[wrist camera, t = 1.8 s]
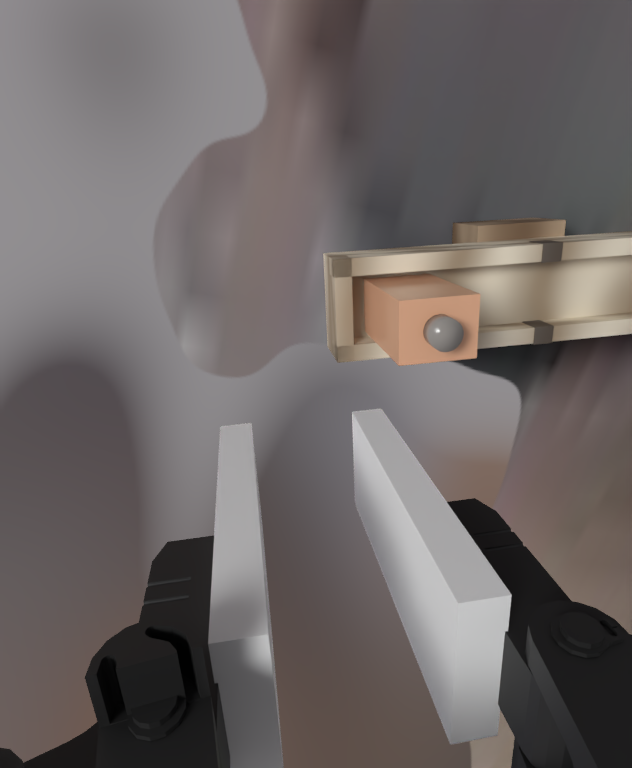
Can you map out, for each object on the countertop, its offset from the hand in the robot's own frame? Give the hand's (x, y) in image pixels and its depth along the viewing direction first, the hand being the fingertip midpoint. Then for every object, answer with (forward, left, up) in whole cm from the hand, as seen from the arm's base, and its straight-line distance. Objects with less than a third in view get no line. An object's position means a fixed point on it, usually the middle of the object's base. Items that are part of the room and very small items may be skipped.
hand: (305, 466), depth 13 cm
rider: (0, +8, -18) cm, 20 cm away
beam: (0, +17, -25) cm, 30 cm away
